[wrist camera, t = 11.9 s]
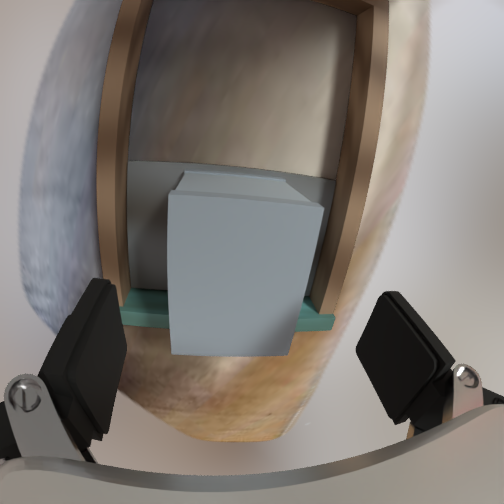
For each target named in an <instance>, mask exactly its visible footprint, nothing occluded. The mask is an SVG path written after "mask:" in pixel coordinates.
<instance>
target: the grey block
mask: <svg viewBox="0 0 504 504" xmlns="http://www.w3.org/2000/svg"><path fill="white" fill-rule="evenodd" d="M323 212H324V207H323V206H321V205H320V204H319V203H315V202H311V201H310V200H308V199H307V198H306V197H304V196H303V195H302V194H300V193H299V192H298V191H296V190H295V189H294V188H292V187H291V186H290V185H288V184H287V183H286V180H285V179H284V178H280V177H272V176H263V175H254V174H244V173H233V172H221V171H208V170H192V169H185V171H184V176H183V178H182V180H181V181H180V183H179V185H178V186H177V188H176V190H171V191H170V193H169V195H168V227H167V274H168V305H169V324H170V339H171V352H172V354H177V355H195V356H284V355H288V352H289V349H290V346H291V342H292V339H293V335H294V332H295V328H296V324H297V321H298V317H299V313H300V310H301V306H302V302H303V298H304V294H305V291H306V287H307V283H308V279H309V275H310V270H311V266H312V262H313V258H314V253H315V249H316V245H317V240H318V236H319V231H320V227H321V222H322V217H323Z"/></svg>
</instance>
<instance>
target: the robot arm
mask: <svg viewBox="0 0 504 504" xmlns="http://www.w3.org/2000/svg"><path fill="white" fill-rule="evenodd" d="M126 351H127V344H126V339H125V334H124V329H123V324H122V319H121V313H120V308H119V302H118V295H117V289H116V285H115V284H111V281H110V280H109V279H100V278H93V279H92V280H91V282H90V283H89V285H88V287H87V288H86V290H85V292H84V293H83V295H82V297H81V298H80V300H79V302H78V304H77V305H76V307H75V309H74V311H73V312H72V314H71V315H69V316H68V317H67V318H66V320H65V322H64V323H63V325H62V327H61V329H60V331H59V333H58V335H57V336H56V338H55V341H54V342H53V344H52V346H51V348H50V350H49V352H48V354H47V356H46V359H45V361H44V363H43V365H42V367H41V369H40V371H39V374H38V376H35V375H33V374H22V375H18V376H17V377H15V378H13V379H12V380H11V381H10V382H9V383H8V385H7V387H6V389H5V393H4V401H3V402H1V403H0V504H504V397H503V396H501V395H499V394H496V393H494V392H492V391H490V390H487V389H485V388H483V387H482V382H481V378H480V376H479V374H478V373H477V372H476V370H475V369H473V368H472V367H471V366H468V365H466V364H458V365H457V366H456V367H455V368H454V369H453V371H452V370H451V369H450V368H451V367H452V365H453V364H454V363H455V359H454V358H453V357H452V355H451V354H450V353H449V351H448V350H447V349H446V348H445V346H444V345H443V344H442V342H441V341H440V340H439V339H438V337H437V336H436V335H435V334H434V332H433V331H432V330H431V329H430V328H429V327H428V325H427V324H426V323H425V322H424V320H423V319H422V318H421V317H420V316H419V315H418V313H417V312H416V311H415V310H414V309H413V307H412V306H411V305H410V304H409V303H408V302H407V301H406V299H405V298H404V297H403V296H402V295H401V294H400V293H399V292H397V291H386V292H384V293H383V294H382V295H381V296H380V297H379V298H378V300H377V303H376V305H375V307H374V309H373V312H372V314H371V316H370V319H369V321H368V323H367V325H366V327H365V329H364V331H363V334H362V336H361V338H360V340H359V342H358V344H357V346H356V353H357V356H358V358H359V360H360V362H361V363H362V365H363V367H364V369H365V371H366V373H367V375H368V377H369V379H370V381H371V383H372V385H373V387H374V389H375V391H376V392H377V394H378V396H379V398H380V400H381V402H382V404H383V406H384V408H385V410H386V412H387V414H388V416H389V417H390V418H391V419H392V420H393V422H394V424H395V425H397V424H400V423H402V422H405V421H406V420H407V419H408V418H410V420H411V422H410V425H409V429H408V433H407V438H406V440H404V441H401V442H398V443H396V444H393V445H390V446H387V447H384V448H382V449H379V450H375V451H372V452H369V453H365V454H362V455H359V456H355V457H351V458H348V459H344V460H340V461H336V462H331V463H327V464H322V465H317V466H312V467H306V468H301V469H294V470H288V471H280V472H272V473H263V474H250V475H231V476H230V475H229V476H197V475H178V474H163V473H153V472H145V471H137V470H130V469H124V468H118V467H113V466H107V465H101V464H98V462H97V460H96V459H95V457H94V456H93V454H92V452H91V451H90V449H89V447H90V445H91V440H92V439H95V440H99V441H102V438H103V433H104V434H107V433H108V431H109V427H110V422H111V416H112V411H113V406H114V402H115V397H116V393H117V388H118V384H119V380H120V376H121V372H122V368H123V364H124V360H125V356H126Z"/></svg>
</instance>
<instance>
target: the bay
mask: <svg viewBox="0 0 504 504" xmlns="http://www.w3.org/2000/svg"><path fill="white" fill-rule="evenodd" d="M311 1H315V2H318V3H322V4H325V5H328V6H331V7H334V8H337V9H340V10H343V11H345V12H348V13H351V14H353V15H356V16H357V23H356V38H355V50H354V60H353V70H352V79H351V87H350V95H349V103H348V110H347V117H346V124H345V130H344V137H343V143H342V149H341V155H340V160H339V166H338V171H337V177H336V181H335V180H331V179H325V178H319V177H313V176H307V175H300V174H293V173H286V172H279V171H271V170H263V169H255V168H246V167H236V166H225V165H213V164H200V163H184V162H163V161H128V147H129V134H130V122H131V113H132V104H133V96H134V89H135V82H136V76H137V70H138V64H139V59H140V53H141V48H142V44H143V39H144V35H145V30H146V26H147V22H148V18H149V14H150V10H151V7H152V3H153V0H123V1H122V4H121V8H120V11H119V14H118V18H117V22H116V25H115V29H114V33H113V37H112V42H111V46H110V51H109V56H108V61H107V66H106V72H105V78H104V84H103V91H102V99H101V107H100V117H99V129H98V144H97V217H98V233H99V245H100V255H101V264H102V272H103V279H109V280H110V281H111V284H115V285H116V289H117V295H118V302H119V308H120V313H121V319H122V324H123V325H132V326H143V327H154V328H166V329H170V324H169V305H168V274H167V227H168V195H169V193H170V191H171V190H176V188H177V186H178V185H179V183H180V181H181V180H182V178H183V176H184V171H185V169H192V170H208V171H221V172H233V173H244V174H254V175H263V176H272V177H280V178H284V179H285V180H286V183H287V184H288V185H290V186H291V187H292V188H294V189H295V190H296V191H298V192H299V193H300V194H302V195H303V196H304V197H306V198H307V199H308V200H310V201H311V202H315V203H319V204H320V205H321V206H323V207H324V212H323V217H322V222H321V227H320V231H319V236H318V240H317V245H316V249H315V253H314V258H313V262H312V266H311V270H310V275H309V279H308V283H307V287H306V291H305V294H304V298H303V302H302V306H301V310H300V313H299V317H298V321H297V324H296V328H295V332H300V331H326V330H331V329H332V326H333V324H334V321H335V316H334V314H333V313H334V310H335V307H336V304H337V301H338V298H339V295H340V292H341V289H342V286H343V283H344V279H345V276H346V273H347V270H348V266H349V263H350V259H351V256H352V252H353V249H354V245H355V241H356V238H357V234H358V230H359V226H360V222H361V218H362V214H363V210H364V206H365V201H366V197H367V193H368V188H369V183H370V178H371V174H372V168H373V163H374V158H375V152H376V147H377V141H378V135H379V128H380V121H381V114H382V107H383V99H384V90H385V80H386V68H387V54H388V33H389V1H388V0H311ZM127 166H128V169H127ZM127 234H128V237H127ZM128 254H129V256H128ZM129 268H130V270H129ZM130 280H131V282H130ZM142 288H143V289H142ZM155 289H156V290H155Z"/></svg>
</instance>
